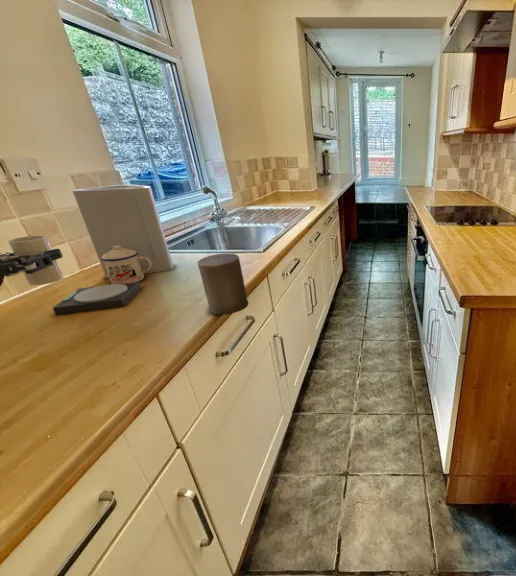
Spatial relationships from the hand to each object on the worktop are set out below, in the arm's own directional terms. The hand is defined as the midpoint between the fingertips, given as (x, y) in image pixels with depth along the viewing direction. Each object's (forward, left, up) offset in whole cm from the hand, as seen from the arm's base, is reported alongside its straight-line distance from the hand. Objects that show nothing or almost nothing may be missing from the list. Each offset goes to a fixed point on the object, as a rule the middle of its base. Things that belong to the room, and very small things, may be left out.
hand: (46, 252), depth 74 cm
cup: (-1, -2, -6) cm, 6 cm away
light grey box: (+4, +38, -18) cm, 42 cm away
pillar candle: (+37, -6, -18) cm, 41 cm away
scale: (+2, +10, -17) cm, 20 cm away
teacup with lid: (+5, +25, -18) cm, 31 cm away
